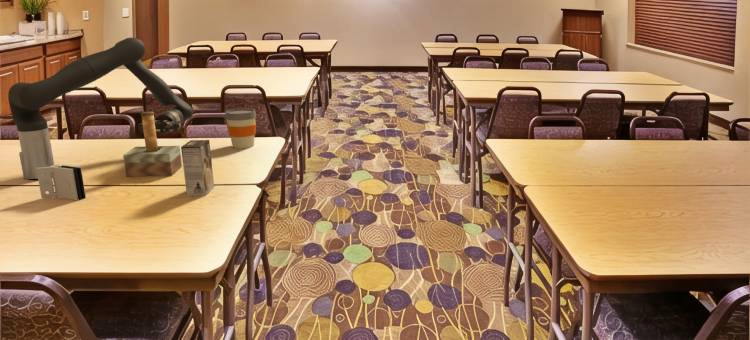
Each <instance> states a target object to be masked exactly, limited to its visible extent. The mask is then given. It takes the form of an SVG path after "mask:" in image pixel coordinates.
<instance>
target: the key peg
mask: <svg viewBox="0 0 750 340" xmlns="http://www.w3.org/2000/svg"><path fill="white" fill-rule="evenodd" d="M140 116H141V123H143V130H144V133H143V137H144V145H145V146H146V152H157V151H158V146H159V145H158V140H157V131H156V129H155V121H154V120H155V111H143V112H141V113H140ZM145 146H144V147H145Z"/></svg>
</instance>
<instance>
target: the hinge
mask: <svg viewBox="0 0 750 340" xmlns="http://www.w3.org/2000/svg"><path fill="white" fill-rule="evenodd" d="M36 170H37V176H38V186H39V187H38V188H39V191H40V196H41V199H42V198H47V199H53V198H52V197H58V198H59V197H60V198H59V199H64V198H67V199H66V200H71V199H74V200H73V201H82V200H83V199H87V195H86V190H85V183H84V176H83V173H82V172H83V171H82V167H81V166H78V165H69V164H54V165H52V166H51V167H41V168H36ZM43 172H44V173H45V175H43V174H42V173H43ZM51 173H52V176H53V177H52V176H51ZM47 192H48V193H47ZM78 199H79V200H78Z"/></svg>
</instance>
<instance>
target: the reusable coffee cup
mask: <svg viewBox="0 0 750 340" xmlns="http://www.w3.org/2000/svg"><path fill="white" fill-rule="evenodd" d="M256 118H257V113H256V109H253V108H235V109H234V108H233V109H229V110H226V111H225V119H226V122H227V124H226V128H227V132H228V135H229V137H230V141H231V145H232V148H233V147H235V148H234V149H239V148H242V149H248V148H249V147H250V148H252V147H254V146H255V136H256V134H257V132H256V131H257V123H256Z"/></svg>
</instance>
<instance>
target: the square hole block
mask: <svg viewBox="0 0 750 340" xmlns="http://www.w3.org/2000/svg"><path fill="white" fill-rule="evenodd" d="M122 157H123V162H124V171H125V177H126V178H130V177H131V178H134V177H135V178H136V177H139V178H140V177H169V176H170V177H171V176H173V175H175V174H176V173H177V172H178V171H179V170H180V169H181V168H182V167H183V165H182V164H183V162H182V153H181V146H180V145H158V151H157V152H146V146H135V147H133V148H131V149H130V150H129V151H127V152H125V153H124V154H123V155H122Z"/></svg>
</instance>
